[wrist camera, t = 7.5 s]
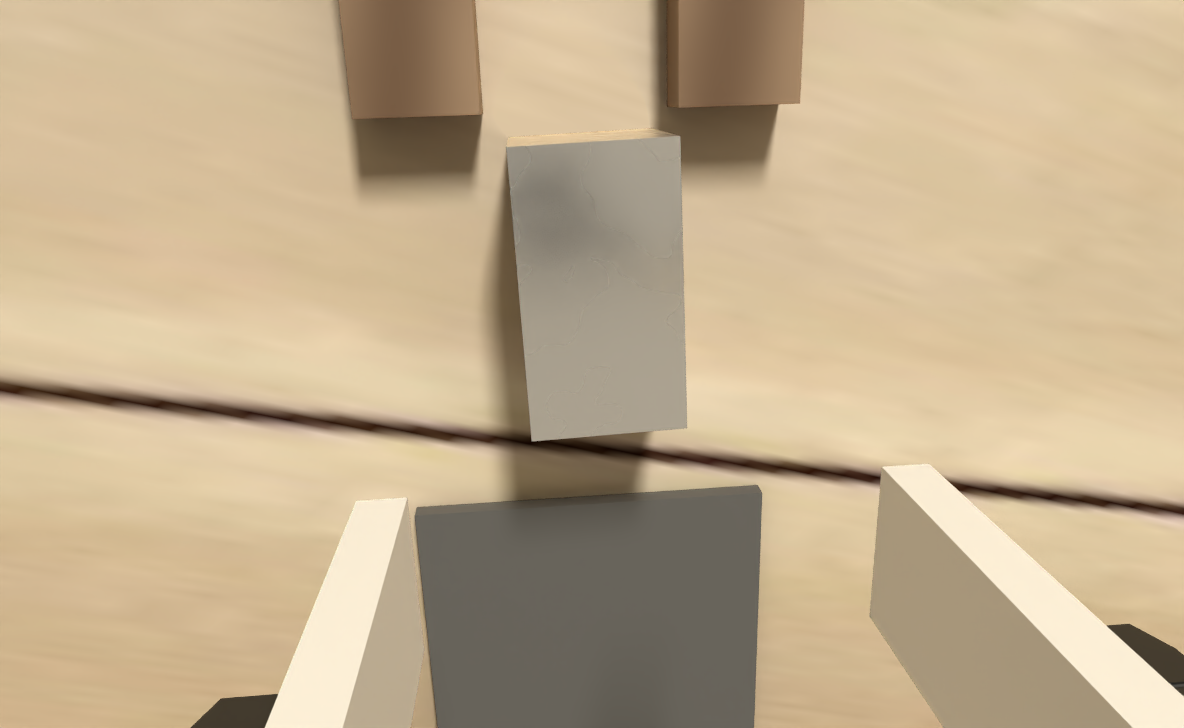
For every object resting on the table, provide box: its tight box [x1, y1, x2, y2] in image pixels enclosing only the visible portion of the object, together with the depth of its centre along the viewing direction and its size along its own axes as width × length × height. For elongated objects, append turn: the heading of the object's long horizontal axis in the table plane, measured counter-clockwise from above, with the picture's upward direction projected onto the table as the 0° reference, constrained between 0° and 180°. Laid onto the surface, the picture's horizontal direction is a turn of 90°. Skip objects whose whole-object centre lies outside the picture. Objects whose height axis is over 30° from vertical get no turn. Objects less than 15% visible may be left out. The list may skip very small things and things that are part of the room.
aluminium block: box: [506, 128, 687, 441], centre depth 25 cm, size 4×8×5 cm, turn 3°
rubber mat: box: [415, 485, 762, 728], centre depth 31 cm, size 12×12×1 cm
